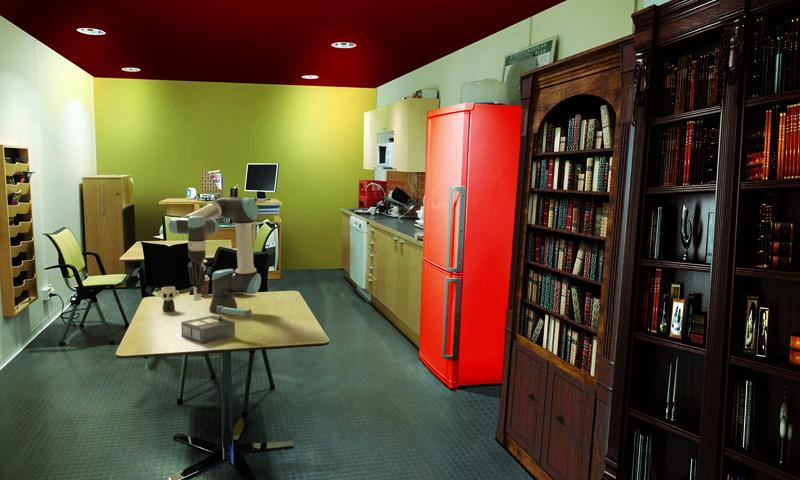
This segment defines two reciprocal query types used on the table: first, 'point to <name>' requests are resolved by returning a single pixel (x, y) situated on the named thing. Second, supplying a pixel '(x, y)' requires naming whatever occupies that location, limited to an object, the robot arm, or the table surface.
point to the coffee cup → (205, 286)
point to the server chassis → (208, 329)
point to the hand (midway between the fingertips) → (197, 300)
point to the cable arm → (234, 311)
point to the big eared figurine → (168, 297)
